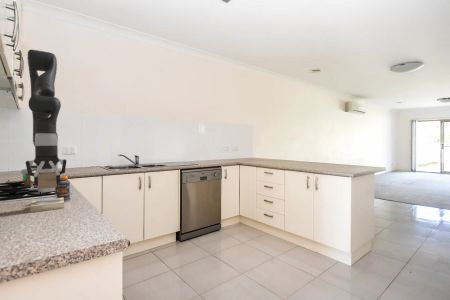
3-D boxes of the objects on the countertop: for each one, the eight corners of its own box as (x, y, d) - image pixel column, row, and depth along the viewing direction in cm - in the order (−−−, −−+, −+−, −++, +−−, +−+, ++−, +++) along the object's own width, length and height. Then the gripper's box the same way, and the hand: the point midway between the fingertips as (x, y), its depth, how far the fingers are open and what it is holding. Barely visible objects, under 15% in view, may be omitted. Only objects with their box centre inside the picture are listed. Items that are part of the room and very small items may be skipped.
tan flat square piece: (32, 206, 102) (32, 200, 102) (63, 202, 108) (63, 197, 108) (30, 212, 94) (30, 205, 94) (64, 208, 100) (64, 201, 100)
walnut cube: (39, 186, 101) (38, 172, 101) (56, 185, 105) (56, 171, 104) (38, 189, 96) (37, 174, 96) (56, 187, 100) (56, 173, 100)
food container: (26, 183, 155) (25, 168, 155) (37, 183, 158) (37, 167, 157) (17, 187, 144) (17, 170, 143) (30, 186, 146) (29, 170, 146)
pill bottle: (55, 202, 108) (54, 177, 108) (55, 200, 113) (54, 176, 113) (71, 200, 112) (70, 176, 111) (70, 198, 117) (69, 175, 116)
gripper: (66, 144, 107) (67, 181, 108) (25, 144, 99) (26, 185, 99) (67, 144, 101) (68, 184, 101) (22, 144, 93) (24, 188, 93)
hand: (47, 184), depth 100 cm, fingers closed on walnut cube, 6 cm apart
